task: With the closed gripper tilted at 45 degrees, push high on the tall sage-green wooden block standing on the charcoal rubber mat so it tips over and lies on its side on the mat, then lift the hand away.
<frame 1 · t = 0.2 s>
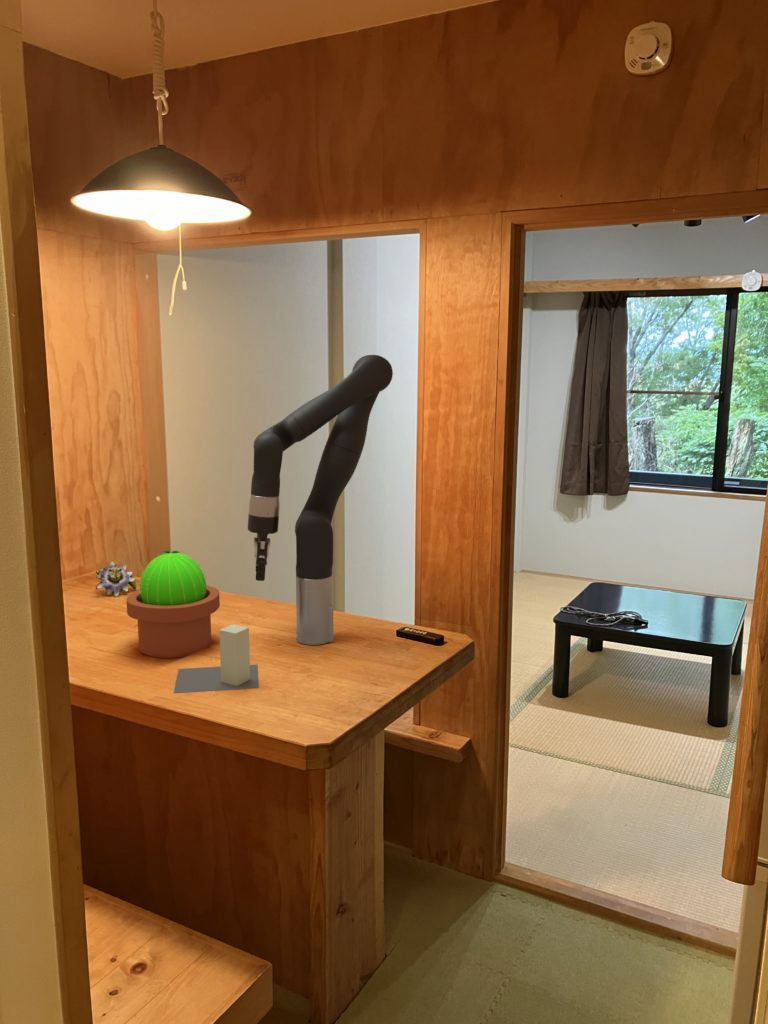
hand: (259, 576, 201), 18 cm above the table, tool pointing down, fingers open, 8 cm apart
rubber mat: (217, 682, 178), on the table
passion flower: (115, 593, 247), on the table
potted cactus: (175, 647, 201), on the table
sage block: (235, 680, 177), point 1 cm above the table, touching rubber mat
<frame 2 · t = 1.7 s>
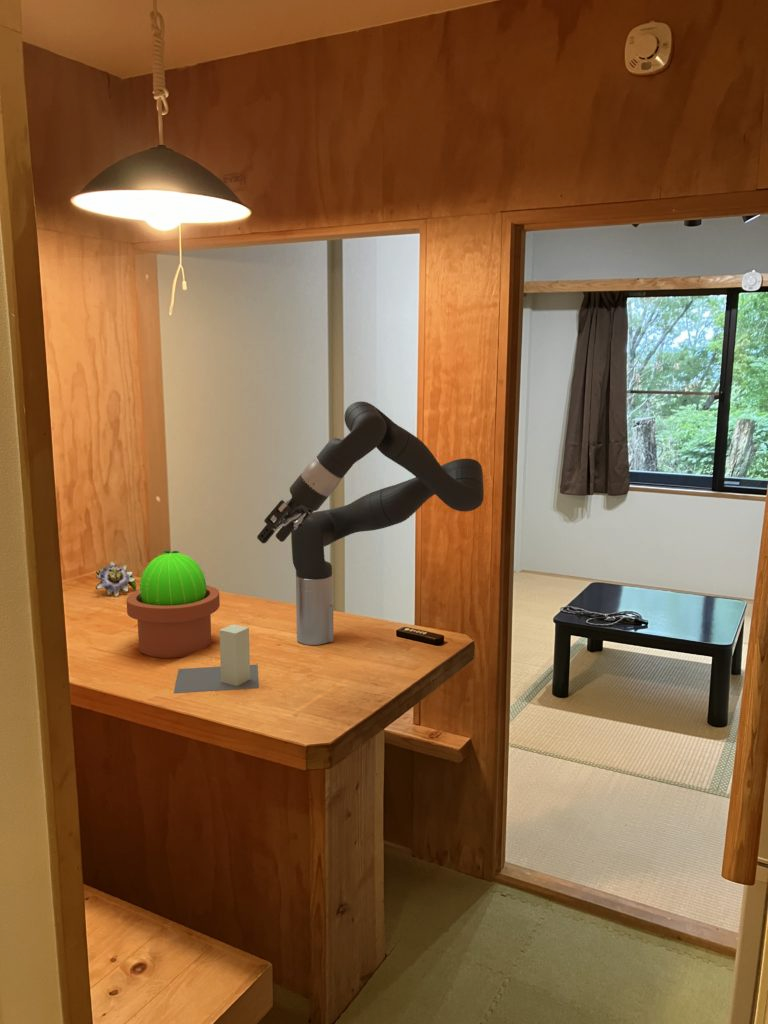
hand: (269, 539, 171), 33 cm above the table, tool tilted 40°, fingers open, 8 cm apart
nothing on the table moved.
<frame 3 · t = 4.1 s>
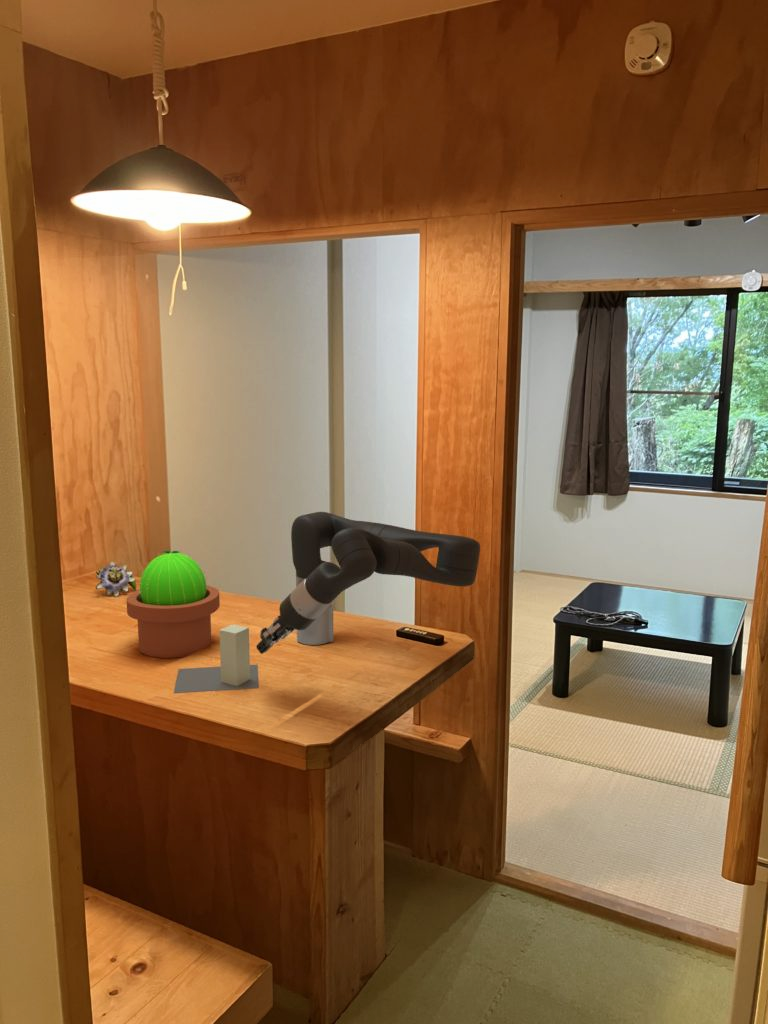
hand: (260, 649, 172), 10 cm above the table, tool tilted 45°, fingers closed
nothing on the table moved.
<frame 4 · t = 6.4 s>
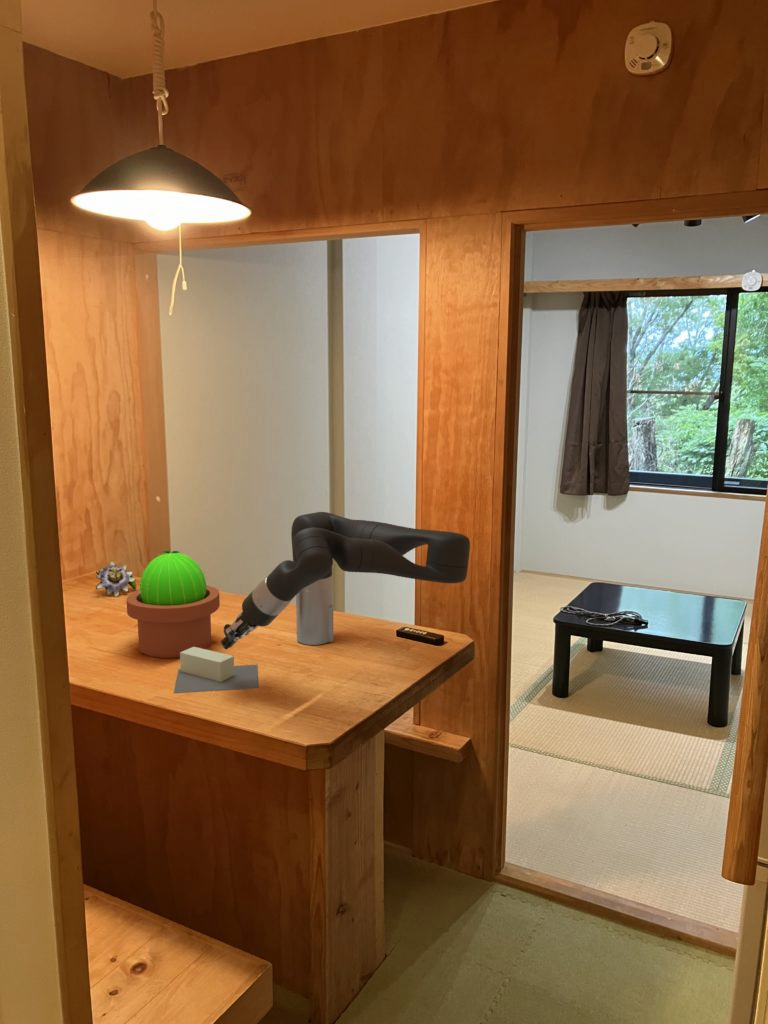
hand: (225, 645, 176), 9 cm above the table, tool tilted 45°, fingers closed
sage block: (227, 668, 178), point 3 cm above the table, tilted 90°, touching rubber mat
everything else where it was.
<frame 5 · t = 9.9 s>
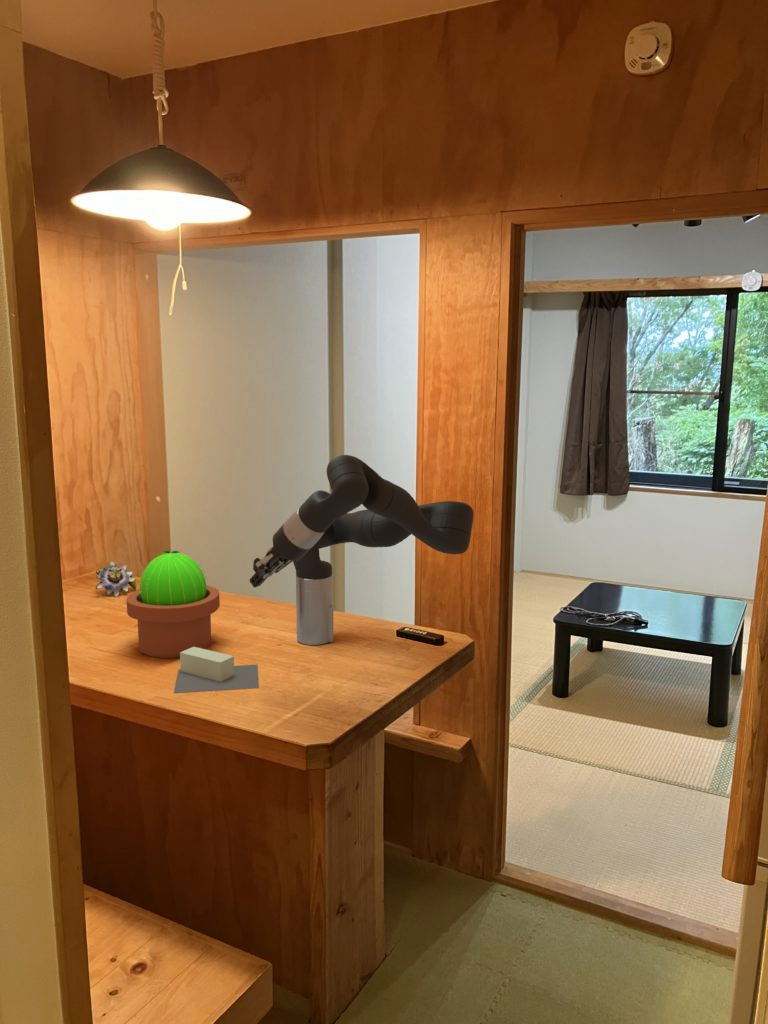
hand: (254, 583, 170), 24 cm above the table, tool tilted 45°, fingers closed
nothing on the table moved.
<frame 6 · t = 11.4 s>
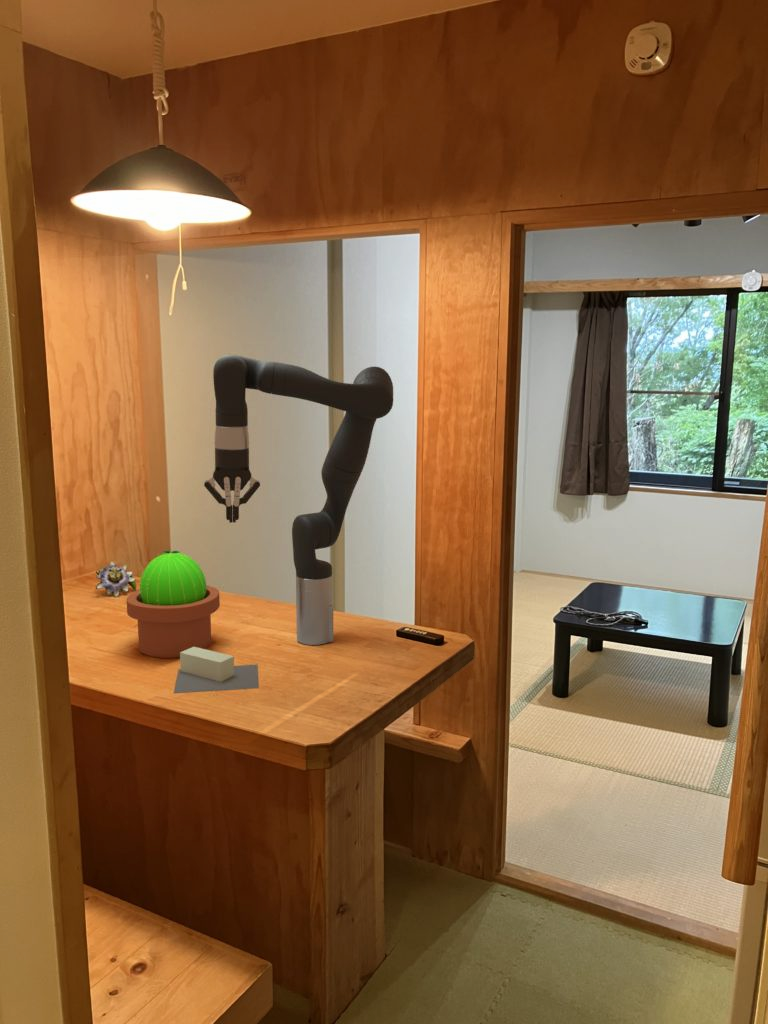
hand: (232, 521, 181), 35 cm above the table, tool pointing down, fingers closed
nothing on the table moved.
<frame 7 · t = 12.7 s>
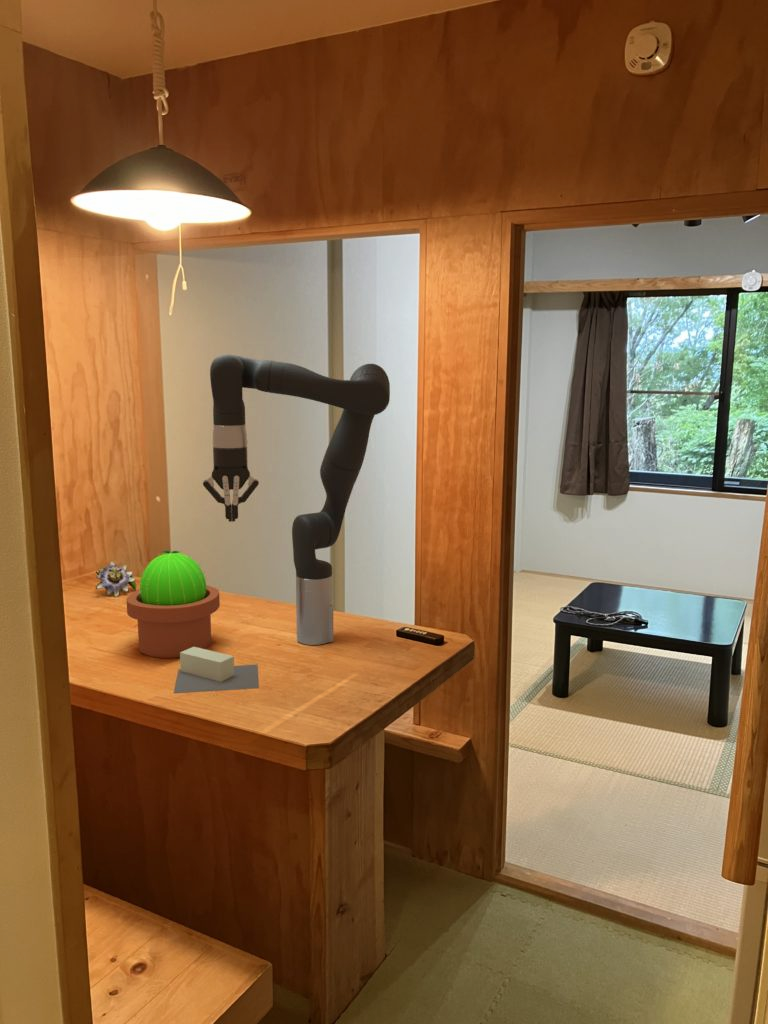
hand: (232, 520, 181), 35 cm above the table, tool pointing down, fingers closed
nothing on the table moved.
at the end: sage block tilted 90°; sage block inside the target area on the rubber mat (2.3 cm from its centre), point 3.2 cm above the rubber mat's base; sage block touching rubber mat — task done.
